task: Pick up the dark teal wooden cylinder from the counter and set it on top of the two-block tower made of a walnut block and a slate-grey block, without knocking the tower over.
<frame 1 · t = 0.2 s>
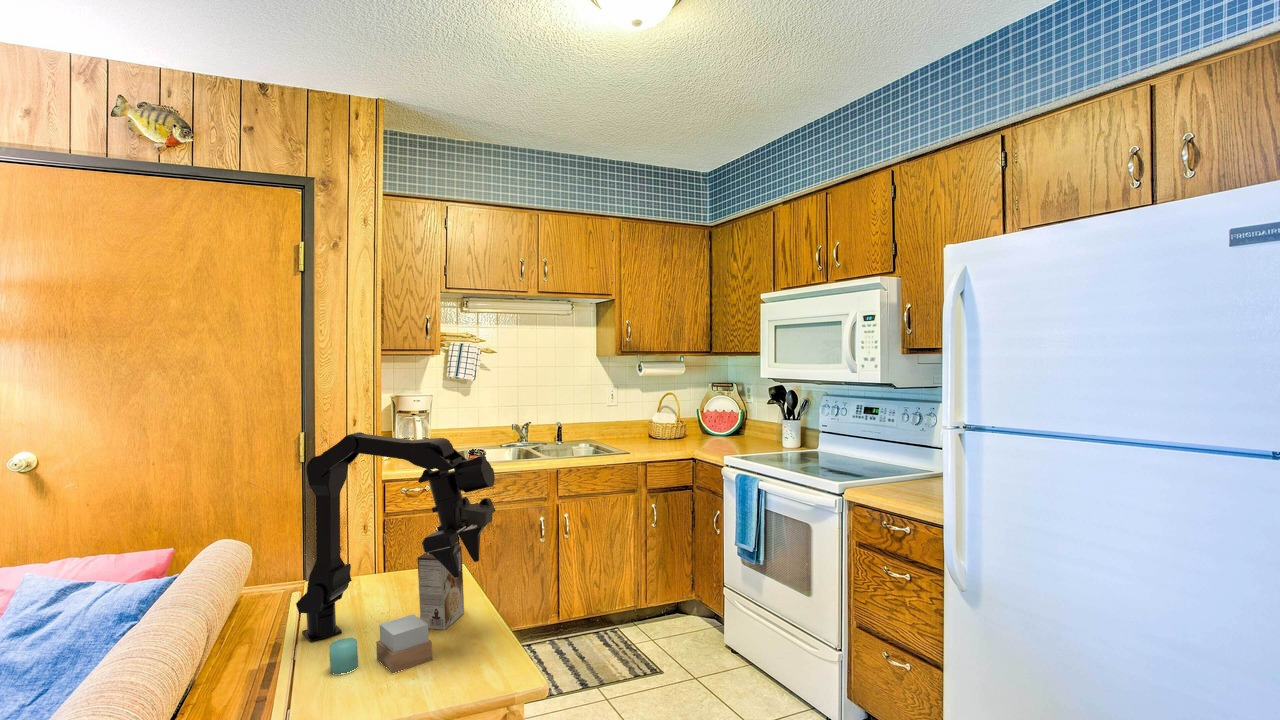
hand: (467, 569, 143), 15 cm above the table, tool pointing down, fingers open, 9 cm apart
tower base: (404, 661, 135), on the table
teal cylinder: (344, 668, 132), on the table
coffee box: (442, 621, 154), on the table
tower top: (404, 641, 135), point 4 cm above the table
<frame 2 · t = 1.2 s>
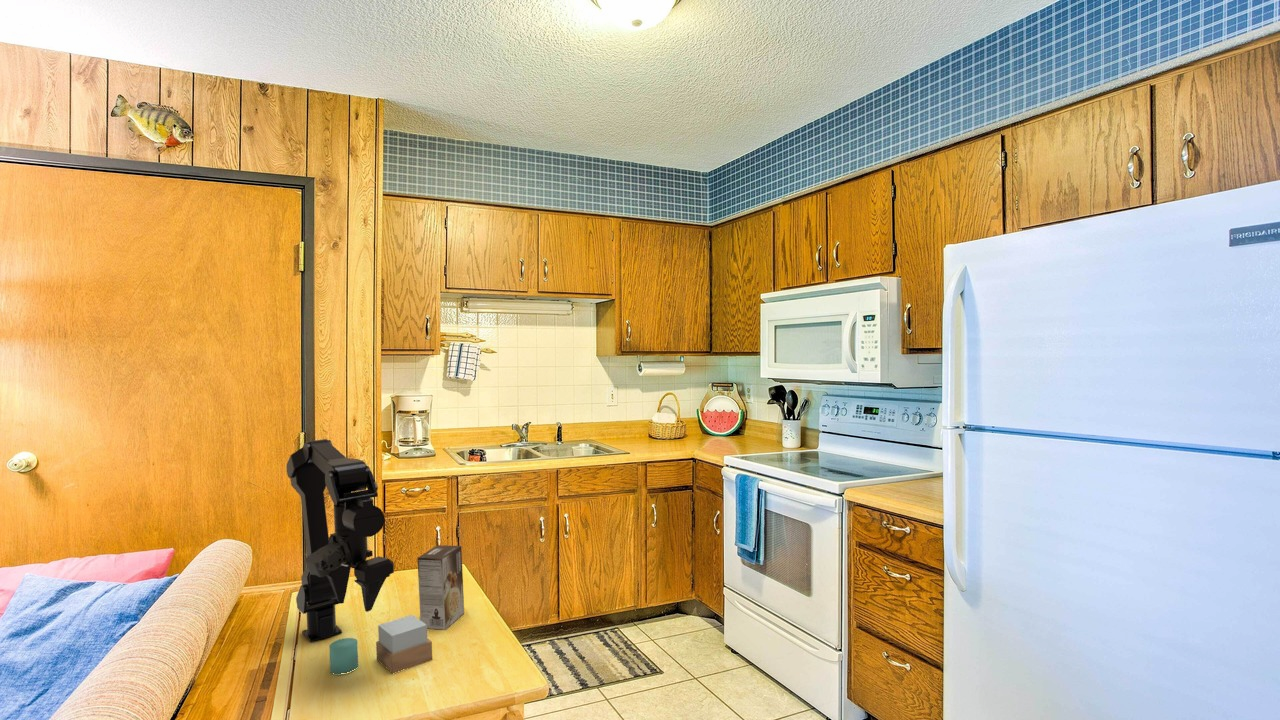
hand: (354, 606, 132), 12 cm above the table, tool pointing down, fingers open, 9 cm apart
tower base: (404, 661, 135), on the table, touching tower top
tower top: (403, 642, 135), point 4 cm above the table, touching tower base
everything else where it was.
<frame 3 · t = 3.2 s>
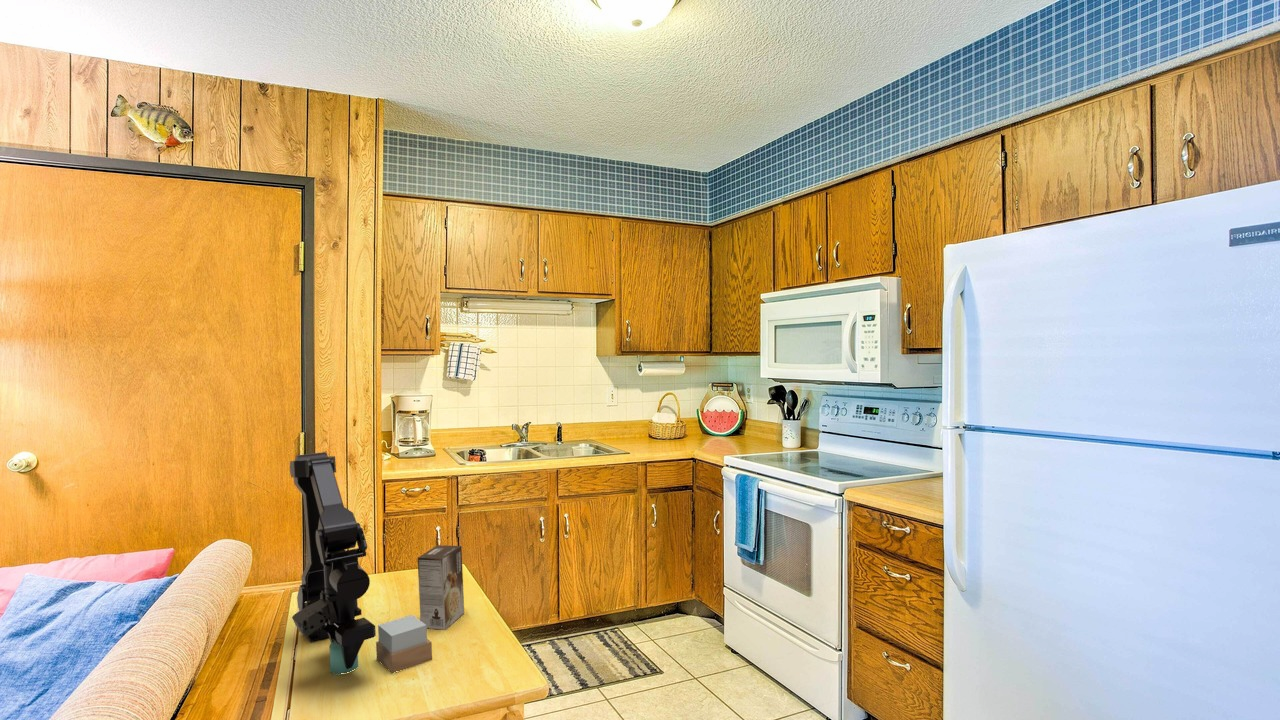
hand: (344, 663, 132), 1 cm above the table, tool pointing down, fingers closed on teal cylinder, 5 cm apart
teal cylinder: (344, 668, 132), on the table, touching gripper
everything else where it was.
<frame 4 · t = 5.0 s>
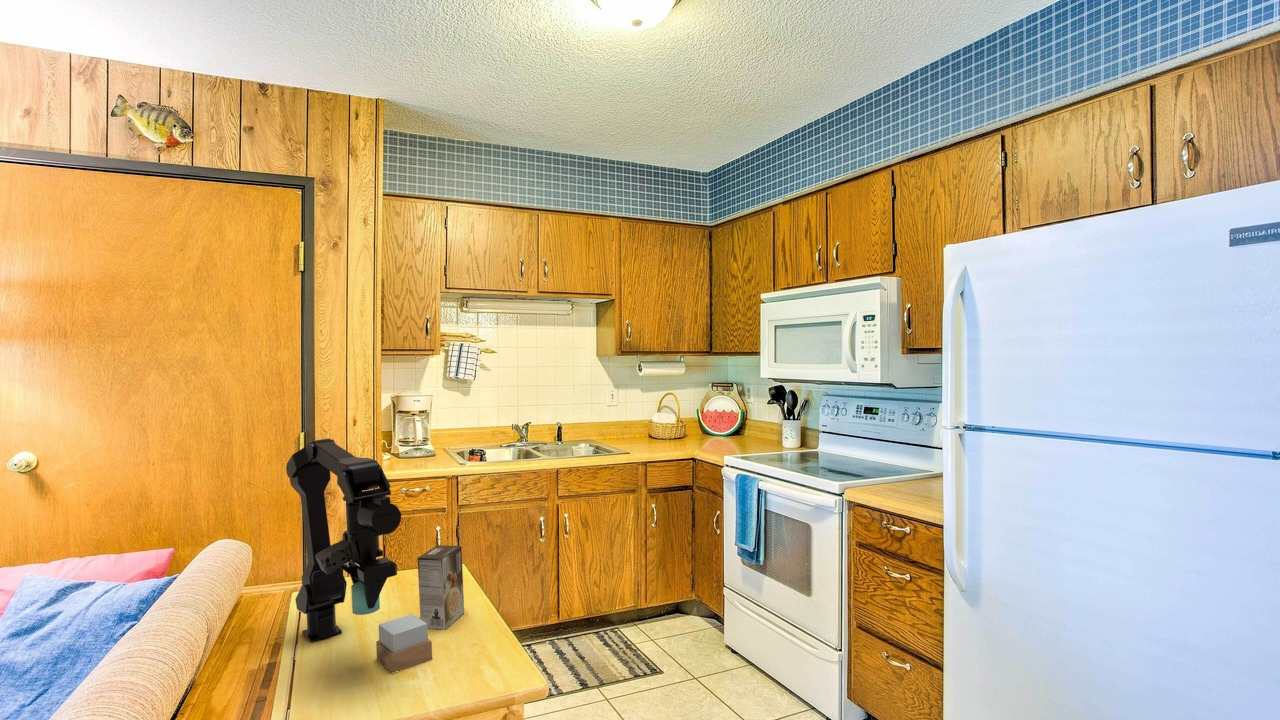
hand: (366, 604, 133), 12 cm above the table, tool pointing down, fingers closed on teal cylinder, 5 cm apart
teal cylinder: (366, 609, 133), point 11 cm above the table, touching gripper
everything else where it was.
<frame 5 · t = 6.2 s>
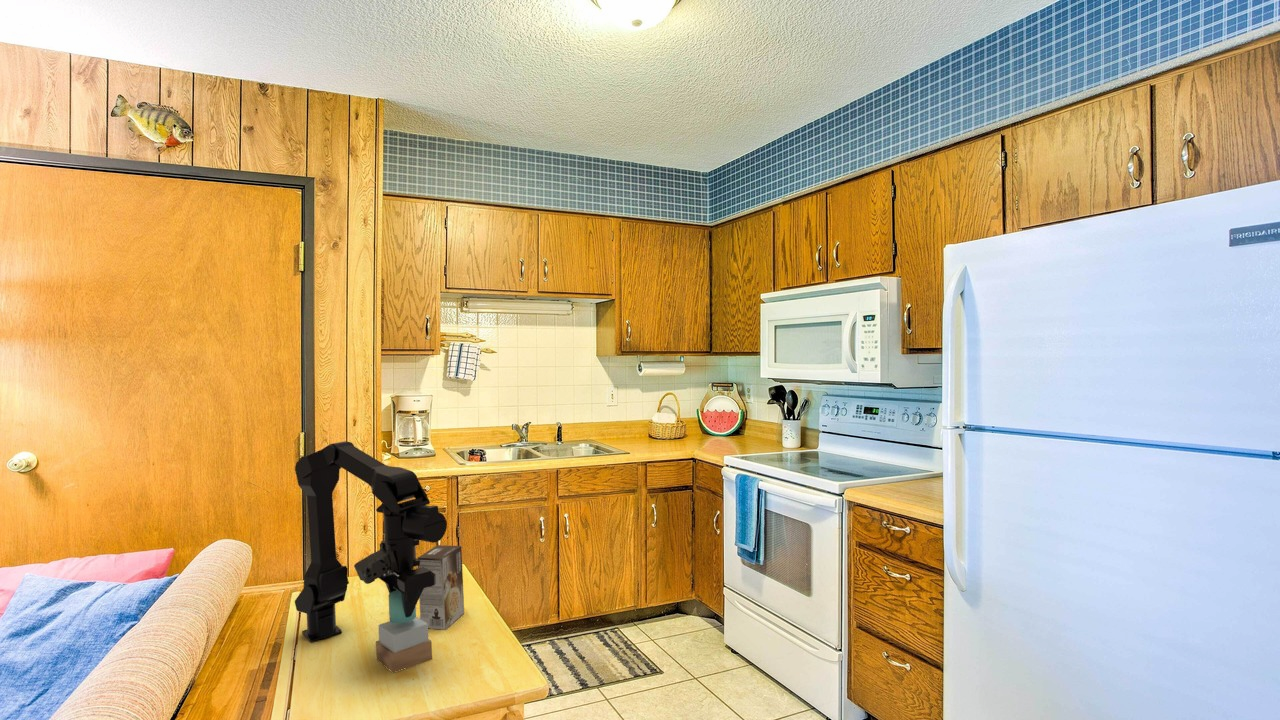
hand: (402, 612, 135), 9 cm above the table, tool pointing down, fingers closed on teal cylinder, 5 cm apart
teal cylinder: (402, 618, 135), point 8 cm above the table, touching gripper
everything else where it was.
when the fingers open (9 cm above the table, at t = 6.3 s): teal cylinder drops 1 cm, resting on tower top.
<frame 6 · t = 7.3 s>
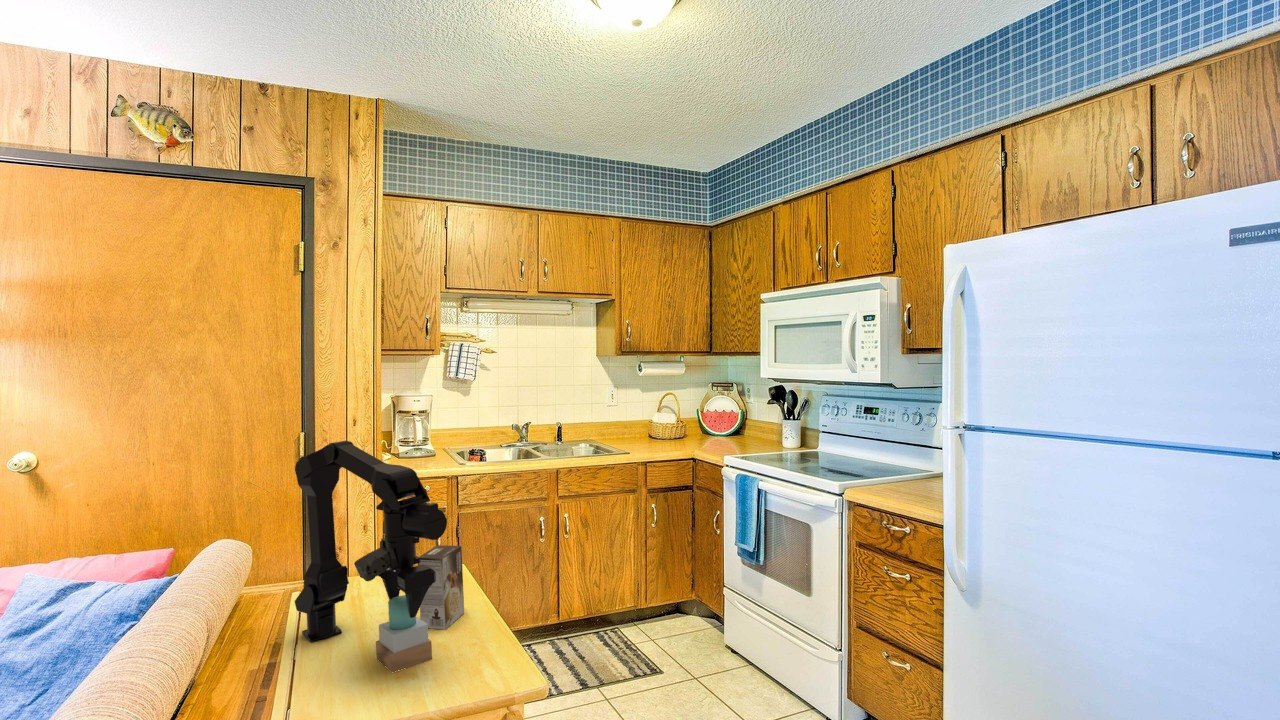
hand: (403, 610, 135), 10 cm above the table, tool pointing down, fingers open, 9 cm apart
teal cylinder: (402, 624, 135), point 7 cm above the table, touching tower top
tower top: (403, 641, 135), point 4 cm above the table, touching teal cylinder, tower base
everything else where it was.
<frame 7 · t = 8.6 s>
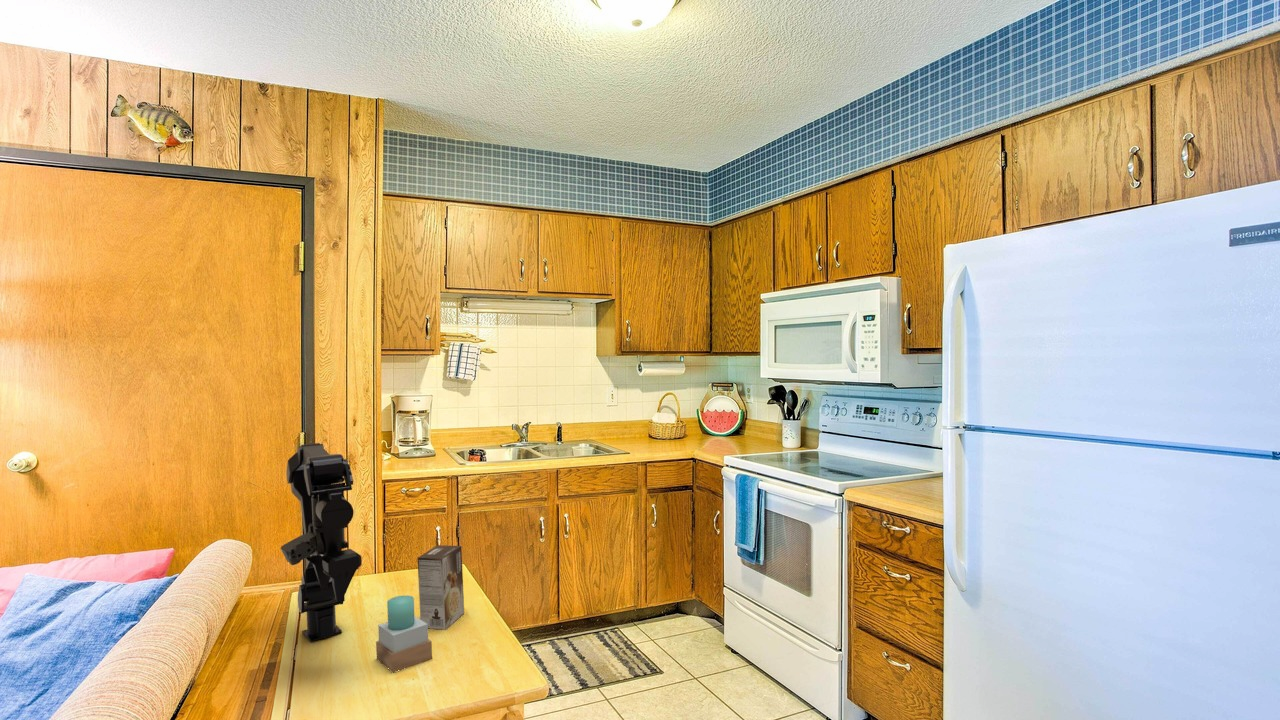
hand: (331, 594, 136), 13 cm above the table, tool pointing down, fingers open, 9 cm apart
nothing on the table moved.
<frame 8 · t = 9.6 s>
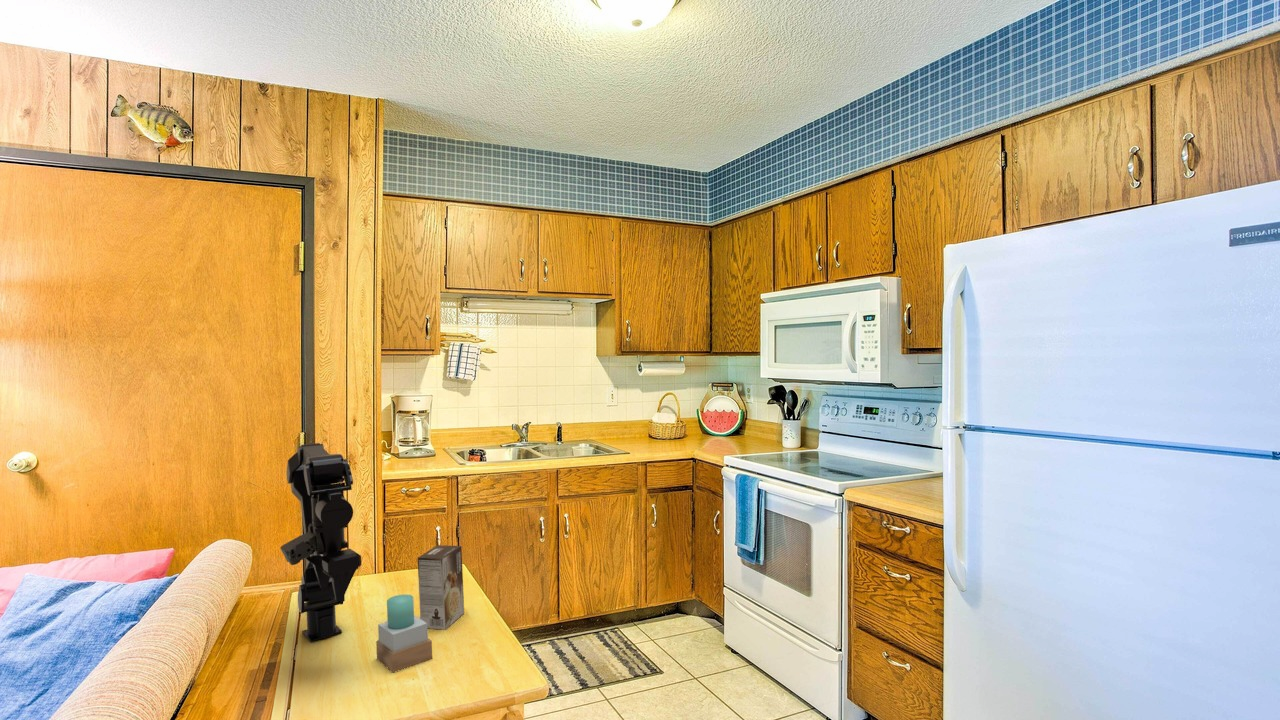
hand: (331, 594, 136), 13 cm above the table, tool pointing down, fingers open, 9 cm apart
nothing on the table moved.
at the end: teal cylinder 0.3 cm off-centre on the tower base, point 7.5 cm above the tower base's base; tower top 0.2 cm from the tower base (horizontally); tower base moved 0.6 cm from its start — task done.
